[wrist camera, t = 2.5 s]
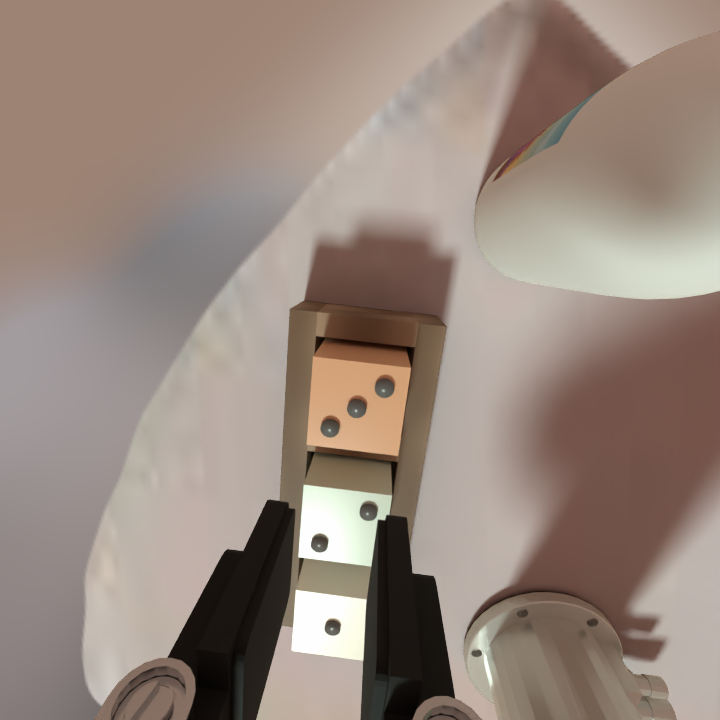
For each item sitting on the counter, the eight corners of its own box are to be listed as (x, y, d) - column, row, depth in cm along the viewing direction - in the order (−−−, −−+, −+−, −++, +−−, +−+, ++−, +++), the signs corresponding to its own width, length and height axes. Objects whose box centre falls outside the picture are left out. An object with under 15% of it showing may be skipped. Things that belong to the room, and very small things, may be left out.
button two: (390, 451, 26) (392, 497, 21) (381, 512, 27) (381, 570, 22) (318, 442, 26) (302, 486, 21) (313, 504, 27) (297, 559, 22)
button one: (377, 541, 28) (376, 603, 23) (370, 594, 29) (367, 664, 24) (310, 532, 28) (295, 593, 23) (306, 585, 29) (290, 653, 24)
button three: (405, 345, 24) (411, 369, 19) (394, 417, 25) (398, 457, 20) (326, 336, 24) (312, 357, 19) (320, 408, 25) (305, 446, 20)
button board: (436, 315, 25) (446, 326, 21) (392, 593, 32) (393, 640, 28) (303, 300, 25) (289, 309, 22) (286, 579, 32) (272, 624, 28)
